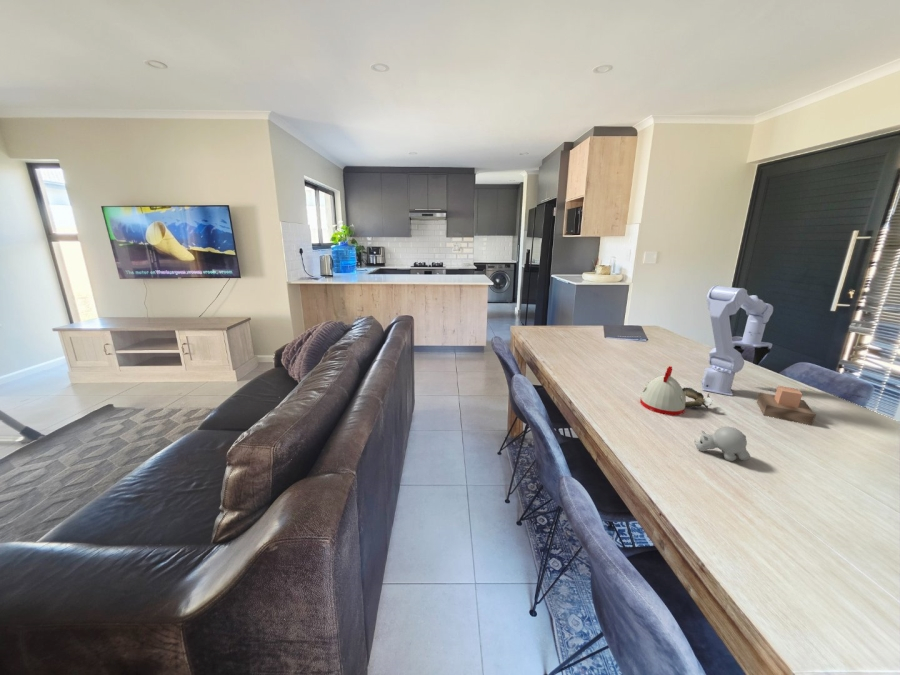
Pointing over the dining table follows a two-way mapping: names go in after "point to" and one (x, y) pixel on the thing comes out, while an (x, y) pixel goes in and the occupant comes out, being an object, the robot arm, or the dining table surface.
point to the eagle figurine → (696, 398)
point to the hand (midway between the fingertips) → (745, 363)
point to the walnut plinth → (785, 410)
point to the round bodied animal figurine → (725, 443)
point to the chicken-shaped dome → (664, 395)
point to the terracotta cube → (788, 396)
